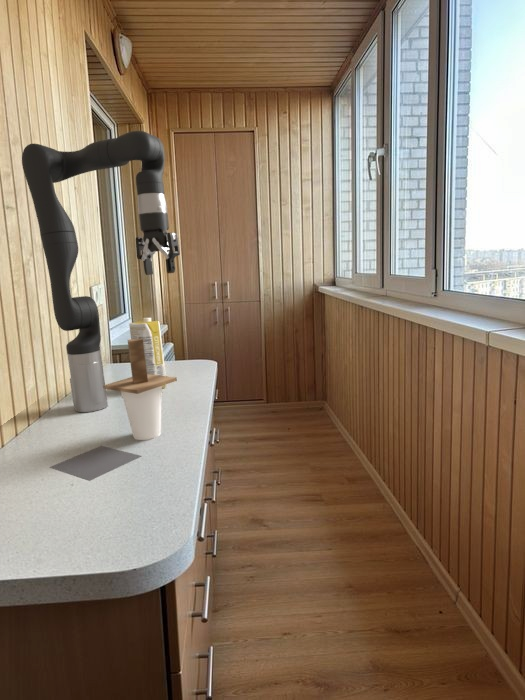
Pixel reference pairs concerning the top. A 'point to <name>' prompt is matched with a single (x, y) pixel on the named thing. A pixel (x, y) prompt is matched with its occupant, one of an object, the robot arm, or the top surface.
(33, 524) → the top surface
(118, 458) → the mat
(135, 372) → the lid
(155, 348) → the juice carton
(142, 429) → the foam cup
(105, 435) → the top surface
